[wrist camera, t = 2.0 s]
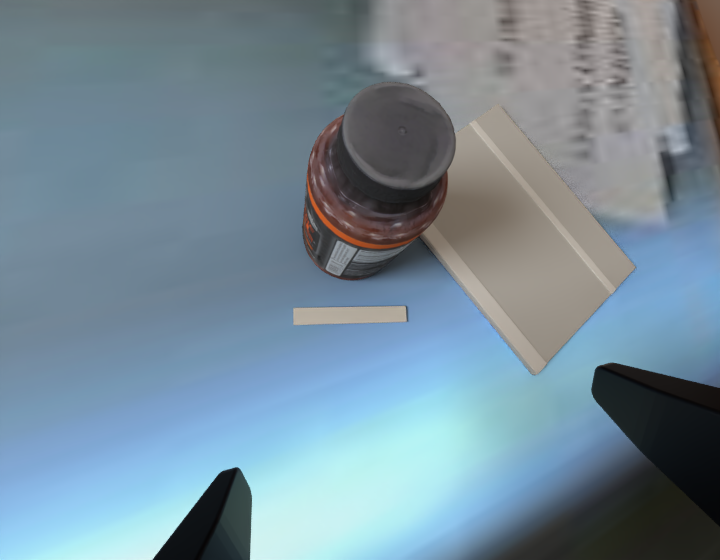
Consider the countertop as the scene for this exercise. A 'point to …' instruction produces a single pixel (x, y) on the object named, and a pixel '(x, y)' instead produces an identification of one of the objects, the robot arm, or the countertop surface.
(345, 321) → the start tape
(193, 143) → the countertop surface
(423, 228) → the supplement bottle
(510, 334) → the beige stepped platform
